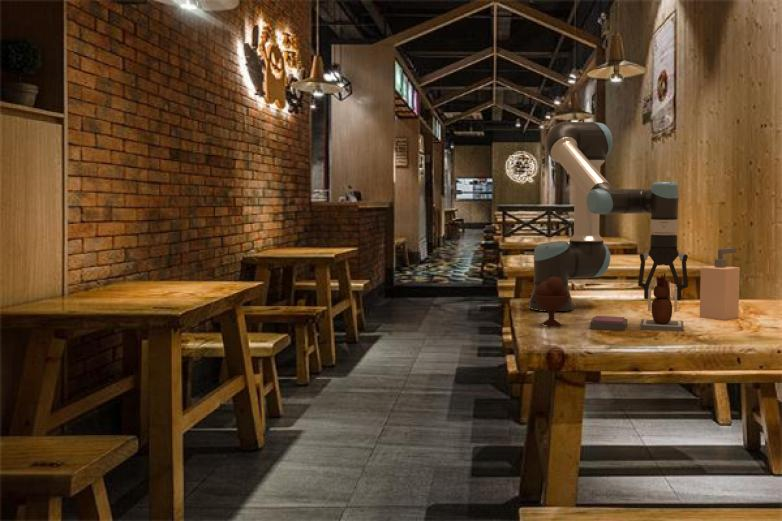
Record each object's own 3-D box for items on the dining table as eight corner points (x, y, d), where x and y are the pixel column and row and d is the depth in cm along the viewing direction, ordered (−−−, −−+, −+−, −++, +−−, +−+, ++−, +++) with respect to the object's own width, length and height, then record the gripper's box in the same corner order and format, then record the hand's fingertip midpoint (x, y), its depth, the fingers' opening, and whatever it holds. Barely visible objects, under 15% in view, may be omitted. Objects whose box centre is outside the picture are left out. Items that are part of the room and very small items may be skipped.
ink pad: (590, 329, 227) (590, 320, 227) (593, 323, 236) (593, 315, 236) (625, 330, 224) (625, 322, 223) (627, 325, 233) (627, 316, 233)
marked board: (640, 329, 226) (640, 324, 226) (641, 322, 237) (641, 318, 237) (683, 331, 222) (683, 326, 222) (683, 324, 233) (683, 320, 233)
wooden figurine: (673, 324, 225) (673, 273, 224) (653, 324, 227) (652, 274, 226) (670, 321, 232) (669, 271, 231) (650, 321, 233) (649, 272, 232)
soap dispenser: (724, 320, 240) (726, 250, 238) (699, 317, 247) (700, 249, 245) (745, 316, 248) (747, 248, 246) (720, 313, 255) (721, 247, 253)
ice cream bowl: (570, 322, 238) (571, 274, 237) (566, 328, 228) (567, 278, 227) (536, 321, 242) (536, 274, 241) (531, 327, 231) (531, 277, 230)
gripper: (628, 234, 227) (627, 311, 229) (699, 234, 220) (697, 314, 222) (630, 233, 234) (628, 307, 236) (699, 233, 227) (697, 310, 229)
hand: (662, 310), depth 229 cm, fingers open, 7 cm apart
